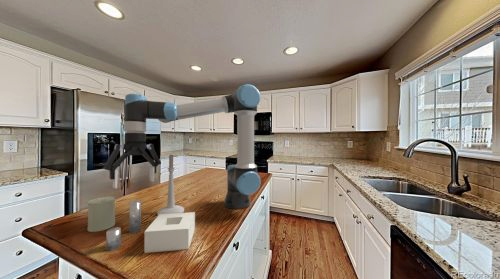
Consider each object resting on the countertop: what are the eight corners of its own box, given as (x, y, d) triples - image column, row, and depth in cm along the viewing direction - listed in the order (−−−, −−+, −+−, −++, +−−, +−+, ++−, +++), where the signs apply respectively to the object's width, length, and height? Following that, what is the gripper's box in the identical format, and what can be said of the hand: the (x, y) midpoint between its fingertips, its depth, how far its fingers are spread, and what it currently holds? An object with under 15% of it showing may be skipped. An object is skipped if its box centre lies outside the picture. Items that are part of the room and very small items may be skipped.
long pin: (142, 228, 75) (142, 199, 75) (138, 232, 71) (138, 203, 72) (132, 228, 75) (132, 200, 75) (127, 233, 71) (127, 203, 71)
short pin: (123, 243, 64) (123, 226, 64) (116, 250, 60) (116, 232, 60) (110, 244, 64) (110, 227, 64) (103, 251, 60) (103, 233, 60)
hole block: (194, 228, 75) (194, 212, 75) (188, 249, 61) (188, 228, 61) (159, 231, 73) (159, 214, 73) (144, 252, 59) (144, 231, 59)
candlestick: (183, 215, 88) (184, 154, 88) (155, 218, 84) (155, 155, 84) (184, 206, 100) (184, 153, 101) (159, 209, 96) (159, 153, 96)
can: (92, 234, 70) (92, 204, 70) (83, 228, 75) (84, 199, 75) (119, 224, 78) (119, 197, 78) (110, 219, 83) (110, 194, 83)
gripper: (161, 133, 86) (160, 177, 85) (93, 131, 65) (92, 189, 65) (169, 133, 81) (168, 180, 81) (99, 130, 61) (98, 192, 61)
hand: (134, 184), depth 73 cm, fingers open, 13 cm apart
